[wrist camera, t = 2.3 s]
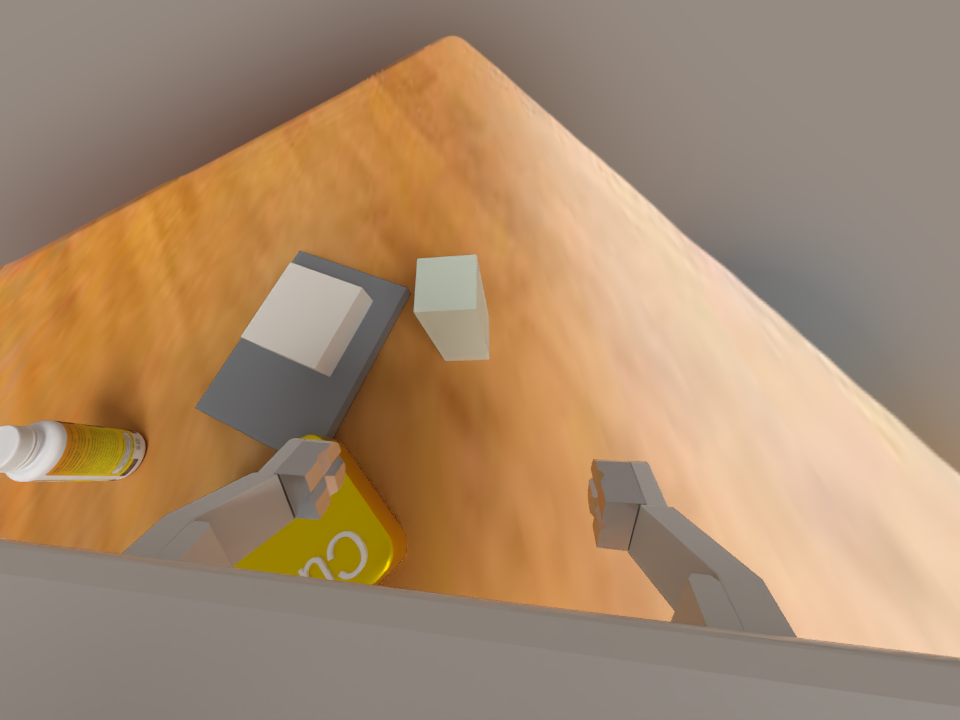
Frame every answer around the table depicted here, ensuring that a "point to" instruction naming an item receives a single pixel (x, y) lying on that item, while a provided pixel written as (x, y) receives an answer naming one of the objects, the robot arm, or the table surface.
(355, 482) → the element tile
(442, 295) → the sage block
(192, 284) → the table surface
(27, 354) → the table surface
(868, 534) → the table surface
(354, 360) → the slate board
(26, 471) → the supplement bottle
